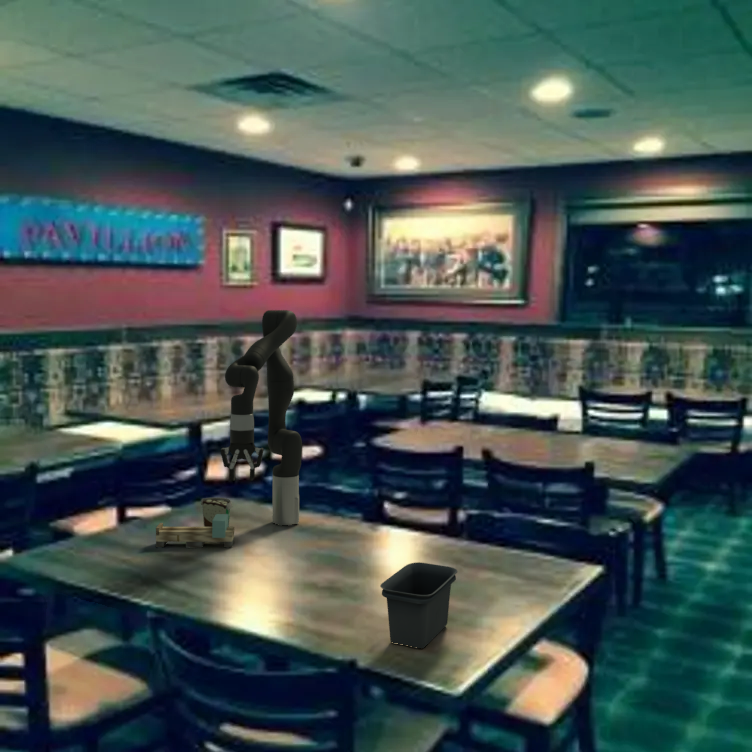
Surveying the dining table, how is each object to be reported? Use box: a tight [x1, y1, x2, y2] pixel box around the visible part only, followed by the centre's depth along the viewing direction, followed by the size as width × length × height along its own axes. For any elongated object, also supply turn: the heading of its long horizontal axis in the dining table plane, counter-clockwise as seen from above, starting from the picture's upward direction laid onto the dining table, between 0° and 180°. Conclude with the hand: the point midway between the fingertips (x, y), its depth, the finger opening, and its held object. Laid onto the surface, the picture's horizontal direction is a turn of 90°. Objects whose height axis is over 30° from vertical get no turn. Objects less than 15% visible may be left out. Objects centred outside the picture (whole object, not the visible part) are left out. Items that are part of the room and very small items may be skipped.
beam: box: [155, 522, 235, 549], centre depth 273 cm, size 24×6×6 cm, turn 92°
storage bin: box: [380, 562, 458, 649], centre depth 204 cm, size 21×16×14 cm
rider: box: [212, 514, 230, 538], centre depth 273 cm, size 4×9×5 cm, turn 2°
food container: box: [200, 497, 233, 527], centre depth 293 cm, size 12×6×10 cm, turn 58°
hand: (242, 479), depth 272 cm, fingers open, 5 cm apart
